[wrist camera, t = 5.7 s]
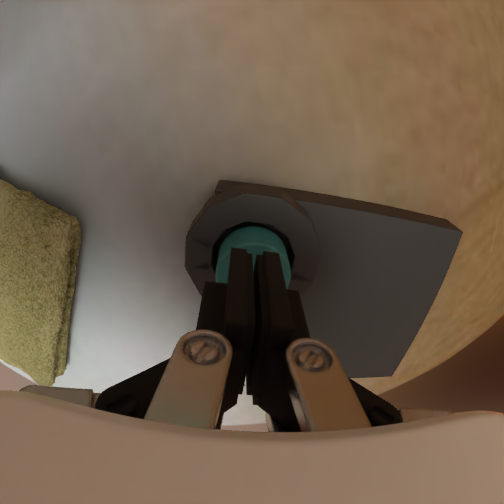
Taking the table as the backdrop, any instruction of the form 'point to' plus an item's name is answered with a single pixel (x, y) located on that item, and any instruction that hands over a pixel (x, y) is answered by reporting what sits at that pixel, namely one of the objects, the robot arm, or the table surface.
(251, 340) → the robot arm
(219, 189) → the grey flat block
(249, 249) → the button
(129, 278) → the table surface
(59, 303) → the washcloth
